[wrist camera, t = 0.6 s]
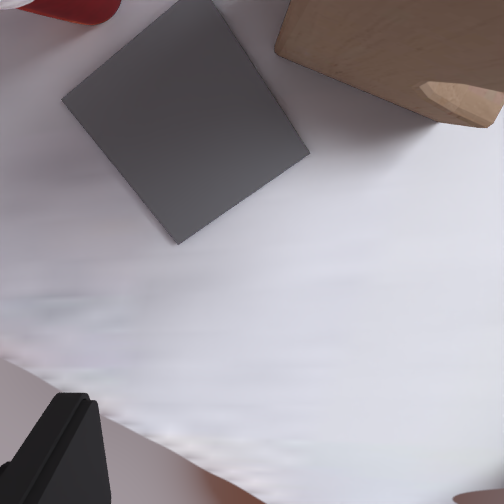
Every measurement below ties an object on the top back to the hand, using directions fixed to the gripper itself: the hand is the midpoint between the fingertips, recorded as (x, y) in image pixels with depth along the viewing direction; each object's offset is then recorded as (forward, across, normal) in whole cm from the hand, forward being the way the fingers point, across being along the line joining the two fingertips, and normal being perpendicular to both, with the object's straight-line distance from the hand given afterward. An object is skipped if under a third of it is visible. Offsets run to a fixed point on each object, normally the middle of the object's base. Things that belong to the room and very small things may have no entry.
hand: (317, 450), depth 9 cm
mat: (+30, +7, -4) cm, 31 cm away
